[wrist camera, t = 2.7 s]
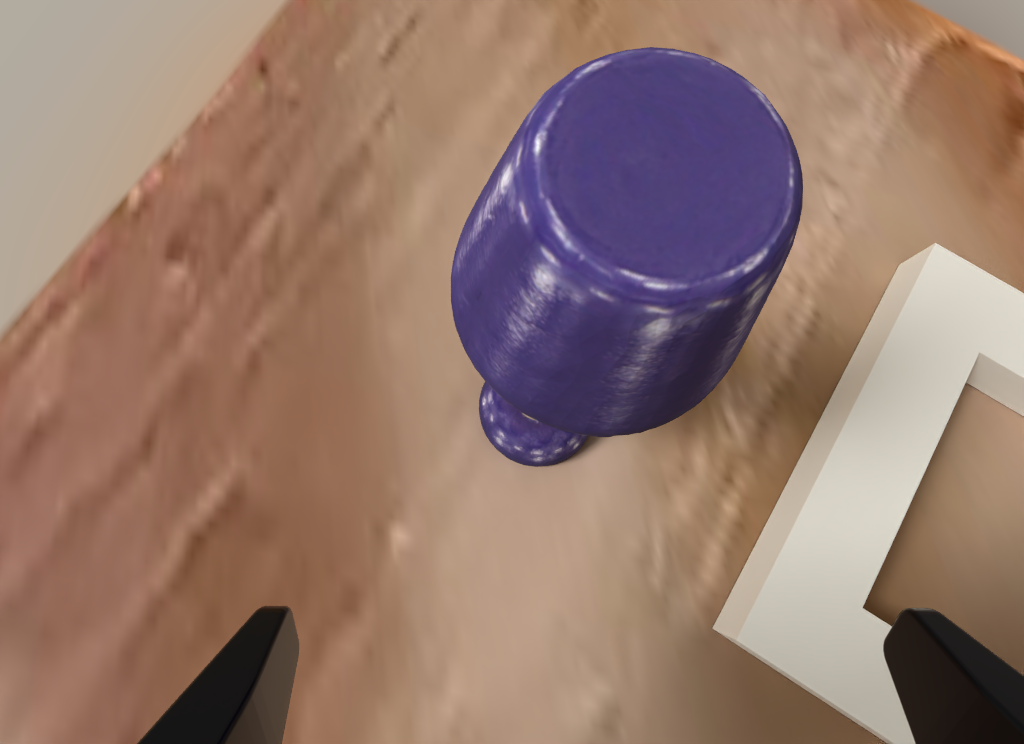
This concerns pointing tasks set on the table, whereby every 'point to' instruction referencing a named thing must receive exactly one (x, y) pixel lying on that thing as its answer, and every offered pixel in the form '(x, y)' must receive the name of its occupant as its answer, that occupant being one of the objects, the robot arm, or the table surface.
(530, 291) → the toy lamp
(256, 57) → the table surface
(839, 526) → the cutout frame
